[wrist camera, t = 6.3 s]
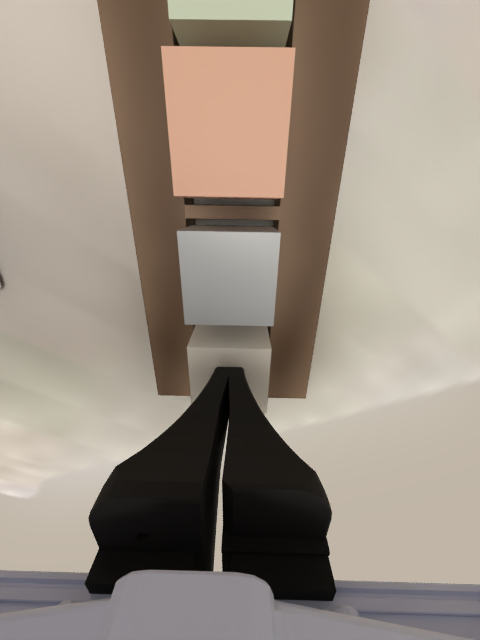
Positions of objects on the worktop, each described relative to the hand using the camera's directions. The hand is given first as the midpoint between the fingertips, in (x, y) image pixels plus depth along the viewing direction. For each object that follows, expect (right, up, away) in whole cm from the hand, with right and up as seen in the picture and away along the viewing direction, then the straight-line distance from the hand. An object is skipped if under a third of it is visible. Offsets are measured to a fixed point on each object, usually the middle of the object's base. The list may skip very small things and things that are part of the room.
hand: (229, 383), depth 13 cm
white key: (0, +1, +3) cm, 3 cm away
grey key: (0, +6, +1) cm, 6 cm away
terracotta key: (0, +11, -2) cm, 11 cm away
